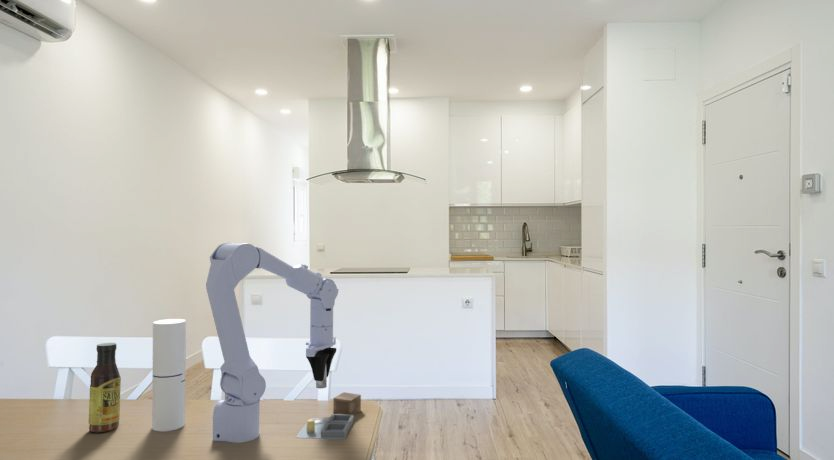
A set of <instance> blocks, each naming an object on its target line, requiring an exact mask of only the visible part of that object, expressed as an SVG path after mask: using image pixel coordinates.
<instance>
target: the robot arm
mask: <svg viewBox="0 0 834 460" xmlns="http://www.w3.org/2000/svg"><path fill="white" fill-rule="evenodd" d="M209 261H210V267H209V270H208V275H207V278H206V283H205V287H206V294H207V297H208V301H209V304H210V310H211V313H212V316H213V321H214V326H215V328H216V334H217V337H218V342H219V344H220V349H221V352H222V357H223V361H224V362H223V363H222V365H221V366H220V372H221V375H220V376H221V377H220V379H219V381H220V382H219V385H220V386H219V387H220V389H221V391H222V392H223V393H224V394H225V393H226V396H225V395H224V399H219V400H218V401H216V404H215V406H214V408H213V413H212V441H213V442H214V441H216V442H217V441H218V442H229V443H237V444H238V443H246V442H250V441H253V440H255V439H257V438H259V436H260V407H261V406H260V403H261V398H262V397H263V396H264V394H265V392H266V386H267V384H266V380H265V378H264V376H263V375H262V374H261V373H260V371H259V367H258V365H257V364H256V363H255V362H254V360H253V359H252V357H251V355H250V353H249V352H250V351H249V347H248V343H247V342H248V341H247V338H246V336H245V335H246V334H245V329H244V327H243V326H244V325H243V322H242V318H241V314H240V308H239V305H238V300H237V297H236V293H235V290H236V288H237V286H238V285H239V283H240V282H241V281H242V280H244V278H246V277H247V276H248V275H249V274H251V273H252V272H253V271H254V270H255V269H263V270H265V271H268V272H270V273H272V274H275V275H276V276H278V277H280V278H283V279H284V280H285V283H286V285H287V286H288V287H290V288H292V289H294V290H295V291H296V290H297V291H298V292H299V293H302V294H304V295H306V297H307V298H308V299H309V300H310V310H309V311H310V312H309V313H310V314H309V315H310V316H309V318H310V319H309V321H310V322H309V324H310V325H309V326H310V327H309V328H310V330H309V336H310V337H309V339H310V340H308V341H305V345H306V346H307V347H306V348H305V356H306V357H305V358H306V359H307V361H308V363H309V365H310V367H311V372H312V376H313V379H314V381H315V382H316V381H323V379H324V373H325V366H326V363H327V378H328V377H329V374H330V372H331V371H330V370H331V365H332V362H333V359H334V357H335V354H336V352H337V347H334V346H335V345H336V343H337V342H336V336H334V306H335V301H336V299H337V297H338V294H339V288H338V286H337V285H336V283H335V281H334V280H333V279H331V278H323V276H322V273H320V272H315V271H312V270H311V269H309V265H307V264H296V265H293V266H292V265H290V264H289V263H288V262H287V263H286V262H285V261H284V260H281V259H279V258H278V257H276V256H274V255H273V254H271V253H270V252H268V251H266V250H264V249H263V248H262V247H257V246H255V245H253V244H251V243H247V242H246V243H245V242H244V243H232V242H223V243H221V244H218V245H217V247H216V248H215V249H214V250H213V252H212V253H211V255H210V256H209ZM225 399H226V400H225Z"/></svg>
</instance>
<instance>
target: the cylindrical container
mask: <svg viewBox="0 0 834 460" xmlns="http://www.w3.org/2000/svg"><path fill="white" fill-rule="evenodd" d="M186 320H187V319H184V318H183V319H182V318H168V319H167V318H166V319H159V320H155V321H153V322H152V384H151V385H152V386H151V387H152V391H151V392H152V396H151V397H152V398H151V399H152V408H151V410H152V414H151V415H152V416H151V417H152V419H151V429H152V430H153V431H155V432H171V431H174V430H179V429H182V428H183V427H184V426H185V425H186V375H187V373H186V371H187V370H186V368H187V367H186V361H187V360H186V358H187V357H186V351H187V350H186V348H187V347H186V345H187V344H186V341H187V340H186V339H187V337H186V336H187V335H186V332H187V331H186V330H187V329H186V328H187V327H186V326H187V322H186Z"/></svg>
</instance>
